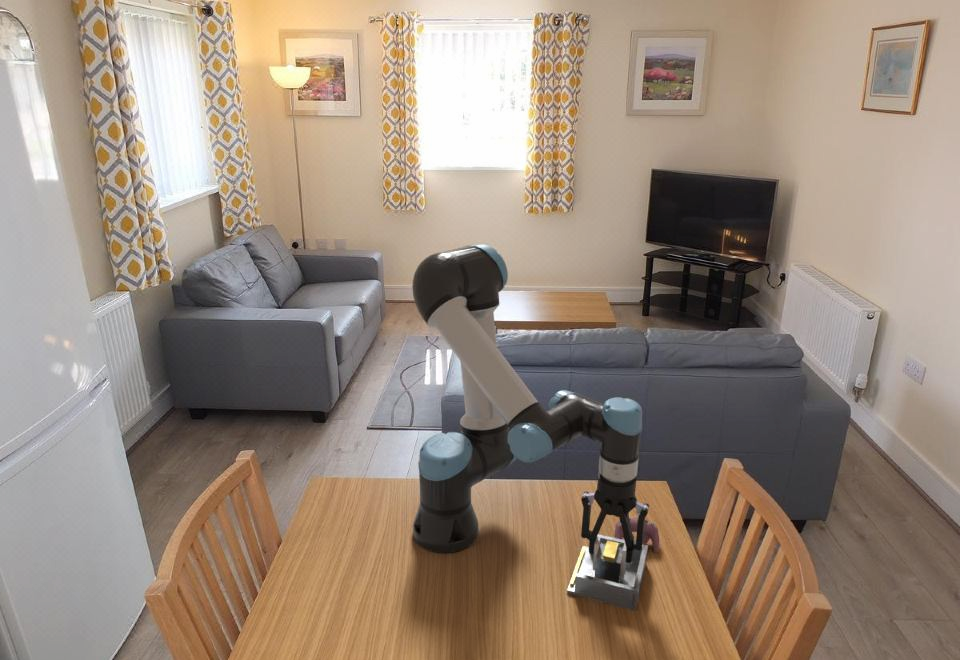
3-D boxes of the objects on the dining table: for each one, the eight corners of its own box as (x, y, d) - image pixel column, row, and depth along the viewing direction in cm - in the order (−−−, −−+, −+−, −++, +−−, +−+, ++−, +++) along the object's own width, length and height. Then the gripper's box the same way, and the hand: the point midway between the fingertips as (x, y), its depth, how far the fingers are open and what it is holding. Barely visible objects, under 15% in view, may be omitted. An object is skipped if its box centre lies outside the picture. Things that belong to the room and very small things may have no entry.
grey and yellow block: (594, 581, 144) (596, 554, 141) (598, 565, 148) (601, 538, 146) (618, 587, 142) (620, 559, 140) (622, 571, 147) (624, 544, 144)
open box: (567, 593, 142) (568, 574, 140) (582, 548, 155) (584, 531, 153) (635, 610, 137) (638, 591, 136) (645, 563, 150) (648, 545, 149)
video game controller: (656, 549, 157) (657, 518, 158) (660, 553, 153) (661, 521, 154) (613, 546, 158) (614, 515, 159) (615, 550, 154) (616, 518, 154)
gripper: (568, 474, 137) (562, 570, 145) (661, 492, 131) (650, 591, 139) (576, 456, 143) (571, 548, 151) (666, 472, 137) (655, 568, 145)
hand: (609, 569), depth 145 cm, fingers closed on grey and yellow block, 5 cm apart
